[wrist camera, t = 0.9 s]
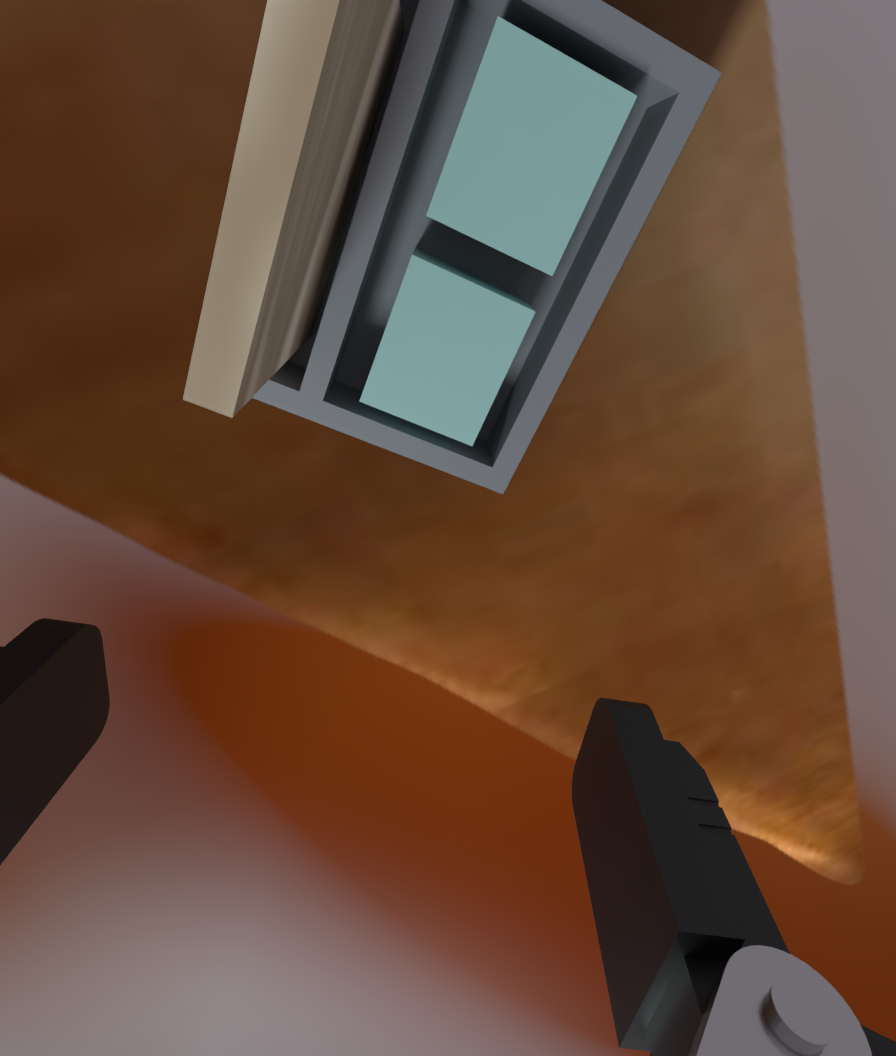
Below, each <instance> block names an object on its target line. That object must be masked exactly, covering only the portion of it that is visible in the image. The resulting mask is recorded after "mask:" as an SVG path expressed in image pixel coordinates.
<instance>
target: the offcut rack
mask: <svg viewBox="0 0 896 1056" xmlns="http://www.w3.org/2000/svg"><path fill="white" fill-rule="evenodd" d="M399 1H400V6H401V12H402V18H403V24H404V31H403V34H402V37H401V41H400V44H399V47H398V51H397V54H396V57H395V61H394V64H393V67H392V70H391V74H390V77H389V80H388V84H387V87H386V90H385V94H384V97H383V100H382V103H381V107H380V110H379V113H378V117H377V120H376V123H375V127H374V130H373V133H372V136H371V140H370V143H369V146H368V150H367V153H366V156H365V160H364V163H363V166H362V170H361V173H360V176H359V179H358V183H357V186H356V189H355V193H354V196H353V199H352V203H351V206H350V209H349V212H348V216H347V219H346V222H345V226H344V229H343V232H342V236H341V239H340V242H339V245H338V249H337V252H336V255H335V259H334V262H333V265H332V269H331V272H330V275H329V279H328V282H327V285H326V288H325V292H324V295H323V298H322V302H321V305H320V308H319V312H318V315H317V318H316V321H315V325H314V328H313V331H312V335H311V336H310V338H309V339H308V340H307V341H306V342H305V343H304V344H303V345H302V346H301V347H300V348H299V349H298V350H297V351H296V352H295V353H294V354H293V355H292V356H291V357H290V358H289V359H288V360H287V361H286V362H285V364H284V365H283V366H282V367H281V368H280V369H279V370H278V371H277V372H276V373H275V374H274V375H273V376H272V377H271V378H270V379H269V380H268V381H267V382H266V383H265V384H264V385H263V386H262V387H261V388H260V389H259V391H258V392H257V393H256V394H255V395H254V396H253V397H252V398H254V399H257V400H259V401H262V402H265V403H267V404H270V405H272V406H275V407H278V408H280V409H283V410H285V411H288V412H291V413H293V414H296V415H298V416H301V417H304V418H306V419H309V420H311V421H314V422H317V423H319V424H322V425H324V426H327V427H330V428H332V429H335V430H337V431H340V432H343V433H345V434H348V435H350V436H353V437H356V438H358V439H361V440H363V441H366V442H369V443H371V444H374V445H376V446H379V447H382V448H384V449H387V450H389V451H392V452H395V453H397V454H400V455H402V456H405V457H408V458H410V459H413V460H415V461H418V462H421V463H423V464H426V465H428V466H431V467H434V468H436V469H439V470H441V471H444V472H447V473H449V474H452V475H454V476H457V477H460V478H462V479H465V480H467V481H470V482H473V483H475V484H478V485H480V486H483V487H486V488H488V489H491V490H493V491H496V492H499V493H501V494H503V493H504V491H505V489H506V487H507V485H508V484H509V482H510V480H511V478H512V476H513V474H514V472H515V470H516V468H517V466H518V464H519V462H520V460H521V458H522V457H523V455H524V453H525V451H526V449H527V447H528V445H529V443H530V441H531V439H532V437H533V435H534V433H535V432H536V430H537V428H538V426H539V424H540V422H541V420H542V418H543V416H544V414H545V412H546V410H547V408H548V407H549V405H550V403H551V401H552V399H553V397H554V395H555V393H556V391H557V389H558V387H559V385H560V383H561V381H562V380H563V378H564V376H565V374H566V372H567V370H568V368H569V366H570V364H571V362H572V360H573V358H574V356H575V355H576V353H577V351H578V349H579V347H580V345H581V343H582V341H583V339H584V337H585V335H586V333H587V331H588V329H589V328H590V326H591V324H592V322H593V320H594V318H595V316H596V314H597V312H598V310H599V308H600V306H601V304H602V303H603V301H604V299H605V297H606V295H607V293H608V291H609V289H610V287H611V285H612V283H613V281H614V279H615V278H616V276H617V274H618V272H619V270H620V268H621V266H622V264H623V262H624V260H625V258H626V256H627V254H628V252H629V251H630V249H631V247H632V245H633V243H634V241H635V239H636V237H637V235H638V233H639V231H640V229H641V227H642V226H643V224H644V222H645V220H646V218H647V216H648V214H649V212H650V210H651V208H652V206H653V204H654V202H655V201H656V199H657V197H658V195H659V193H660V191H661V189H662V187H663V185H664V183H665V181H666V179H667V177H668V175H669V174H670V172H671V170H672V168H673V166H674V164H675V162H676V160H677V158H678V156H679V154H680V152H681V150H682V149H683V147H684V145H685V143H686V141H687V139H688V137H689V135H690V133H691V131H692V129H693V127H694V125H695V123H696V122H697V120H698V118H699V116H700V114H701V112H702V110H703V108H704V106H705V104H706V102H707V100H708V98H709V97H710V95H711V93H712V91H713V89H714V87H715V85H716V83H717V81H718V79H719V77H720V75H721V72H720V71H718V70H716V69H715V68H713V67H711V66H710V65H708V64H706V63H705V62H703V61H701V60H700V59H698V58H696V57H695V56H693V55H691V54H690V53H688V52H686V51H685V50H683V49H681V48H680V47H678V46H676V45H675V44H673V43H671V42H670V41H668V40H667V39H665V38H663V37H662V36H660V35H658V34H657V33H655V32H653V31H652V30H650V29H648V28H647V27H645V26H643V25H642V24H640V23H638V22H637V21H635V20H633V19H632V18H630V17H628V16H627V15H625V14H623V13H622V12H620V11H618V10H617V9H615V8H613V7H612V6H610V5H608V4H607V3H605V2H604V1H602V0H399ZM498 16H499V17H500V18H502V19H504V20H506V21H507V22H509V23H511V24H513V25H514V26H516V27H518V28H520V29H521V30H523V31H525V32H527V33H528V34H530V35H532V36H534V37H535V38H537V39H539V40H541V41H542V42H544V43H546V44H548V45H549V46H551V47H553V48H555V49H556V50H558V51H560V52H562V53H563V54H565V55H567V56H569V57H570V58H572V59H574V60H576V61H577V62H579V63H581V64H583V65H584V66H586V67H588V68H590V69H591V70H593V71H595V72H597V73H598V74H600V75H602V76H604V77H605V78H607V79H609V80H611V81H612V82H614V83H616V84H618V85H619V86H621V87H623V88H625V89H626V90H628V91H630V92H632V93H633V94H635V95H637V98H636V100H635V102H634V104H633V106H632V109H631V111H630V113H629V115H628V117H627V119H626V121H625V123H624V126H623V128H622V130H621V132H620V134H619V136H618V138H617V140H616V143H615V145H614V147H613V149H612V151H611V153H610V155H609V157H608V160H607V162H606V164H605V166H604V168H603V170H602V172H601V174H600V176H599V179H598V181H597V183H596V185H595V187H594V189H593V191H592V193H591V196H590V198H589V200H588V202H587V204H586V206H585V208H584V210H583V213H582V215H581V217H580V219H579V221H578V223H577V225H576V227H575V230H574V232H573V234H572V236H571V238H570V240H569V242H568V244H567V246H566V249H565V251H564V253H563V255H562V257H561V259H560V261H559V263H558V266H557V268H556V270H555V272H554V274H553V276H551V275H548V274H546V273H544V272H542V271H540V270H538V269H536V268H534V267H532V266H530V265H528V264H526V263H523V262H521V261H519V260H517V259H515V258H513V257H511V256H509V255H507V254H505V253H503V252H501V251H498V250H496V249H494V248H492V247H490V246H488V245H486V244H484V243H482V242H480V241H478V240H476V239H473V238H471V237H469V236H467V235H465V234H463V233H461V232H459V231H457V230H455V229H453V228H451V227H448V226H446V225H444V224H442V223H440V222H438V221H436V220H434V219H432V218H430V217H428V216H426V214H427V212H428V209H429V206H430V203H431V200H432V198H433V195H434V192H435V189H436V187H437V184H438V181H439V178H440V175H441V173H442V170H443V167H444V164H445V162H446V159H447V156H448V153H449V150H450V148H451V145H452V142H453V139H454V136H455V134H456V131H457V128H458V125H459V123H460V120H461V117H462V114H463V111H464V109H465V106H466V103H467V100H468V98H469V95H470V92H471V89H472V86H473V84H474V81H475V78H476V75H477V72H478V70H479V67H480V64H481V61H482V59H483V56H484V53H485V50H486V47H487V45H488V42H489V39H490V36H491V34H492V31H493V28H494V25H495V22H496V20H497V17H498ZM415 248H417V249H420V250H422V251H424V252H426V253H428V254H430V255H432V256H435V257H437V258H439V259H441V260H443V261H445V262H447V263H450V264H452V265H454V266H456V267H458V268H460V269H462V270H465V271H467V272H469V273H471V274H473V275H475V276H477V277H480V278H482V279H484V280H486V281H488V282H490V283H493V284H495V285H497V286H499V287H501V288H503V289H505V290H508V291H510V292H512V293H514V294H516V295H518V296H520V297H522V298H523V299H524V300H525V301H526V302H527V303H528V304H529V305H530V306H531V307H532V308H533V309H534V310H535V311H536V312H535V314H534V317H533V319H532V321H531V323H530V325H529V327H528V329H527V331H526V333H525V336H524V338H523V340H522V342H521V344H520V346H519V348H518V350H517V353H516V355H515V357H514V359H513V361H512V363H511V365H510V367H509V370H508V372H507V374H506V376H505V378H504V380H503V382H502V384H501V387H500V389H499V391H498V393H497V395H496V397H495V399H494V401H493V403H492V406H491V408H490V410H489V412H488V414H487V416H486V418H485V420H484V423H483V425H482V427H481V429H480V431H479V433H478V435H477V437H476V440H475V442H474V444H473V446H470V445H467V444H465V443H462V442H460V441H457V440H455V439H452V438H450V437H447V436H445V435H442V434H440V433H437V432H435V431H432V430H430V429H427V428H425V427H422V426H420V425H417V424H415V423H412V422H410V421H407V420H405V419H402V418H400V417H397V416H395V415H392V414H389V413H387V412H384V411H382V410H379V409H377V408H374V407H372V406H369V405H367V404H364V403H362V402H359V401H360V398H361V395H362V392H363V390H364V387H365V384H366V381H367V379H368V376H369V373H370V370H371V367H372V365H373V362H374V359H375V356H376V353H377V351H378V348H379V345H380V342H381V340H382V337H383V334H384V331H385V328H386V326H387V323H388V320H389V317H390V315H391V312H392V309H393V306H394V303H395V301H396V298H397V295H398V292H399V289H400V287H401V284H402V281H403V278H404V276H405V273H406V270H407V267H408V264H409V262H410V259H411V256H412V254H413V251H414V249H415Z"/></svg>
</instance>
